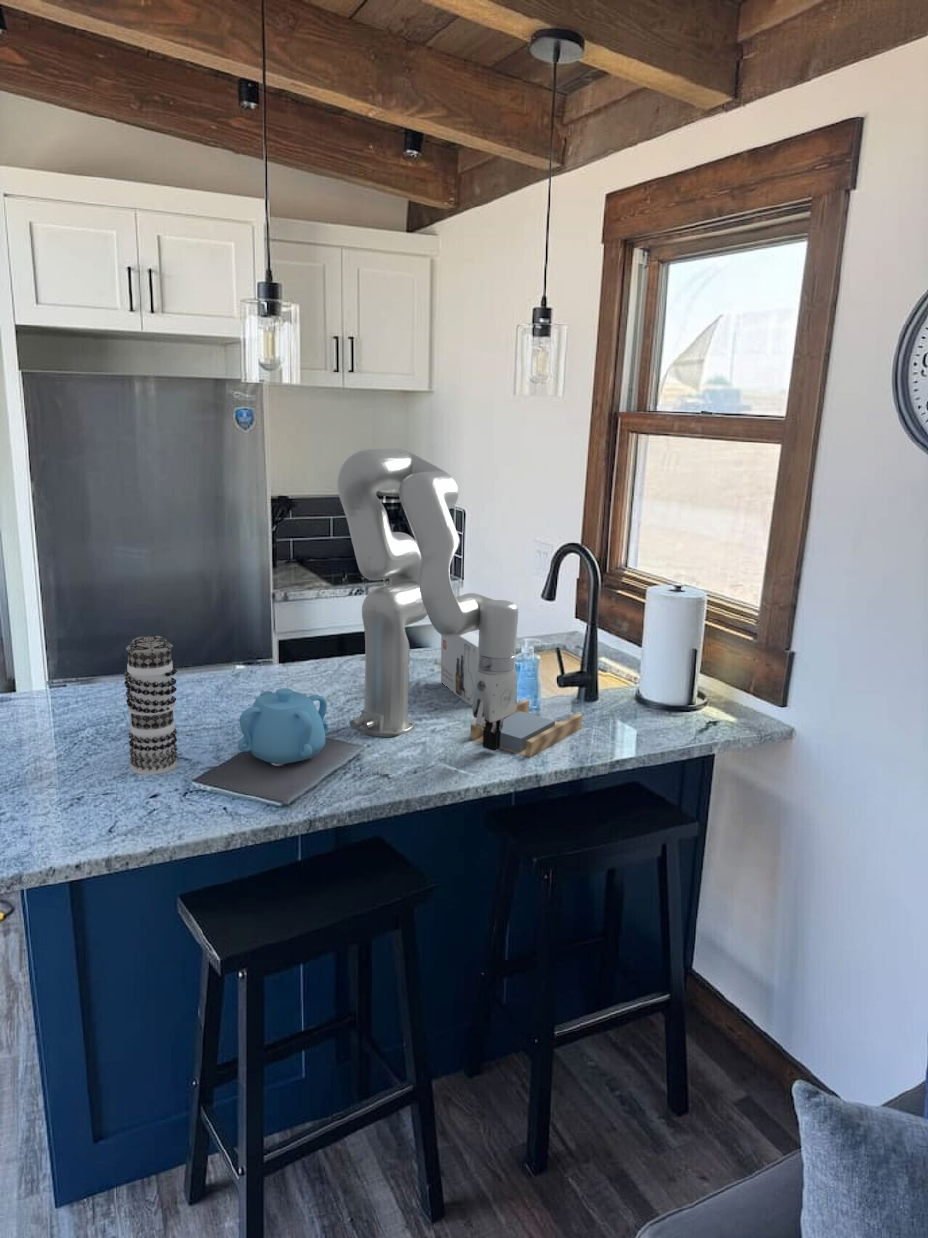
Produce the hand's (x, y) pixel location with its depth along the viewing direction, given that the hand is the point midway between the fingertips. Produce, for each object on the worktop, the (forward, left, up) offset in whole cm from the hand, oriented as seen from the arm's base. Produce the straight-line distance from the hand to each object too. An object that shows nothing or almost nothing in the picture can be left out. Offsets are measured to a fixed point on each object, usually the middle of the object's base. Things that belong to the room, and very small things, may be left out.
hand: (491, 747), depth 173 cm
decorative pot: (-28, +31, -2) cm, 42 cm away
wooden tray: (+14, 0, -2) cm, 14 cm away
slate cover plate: (+11, 0, -1) cm, 11 cm away
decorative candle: (-48, +45, -2) cm, 66 cm away
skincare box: (+27, +26, -2) cm, 38 cm away
